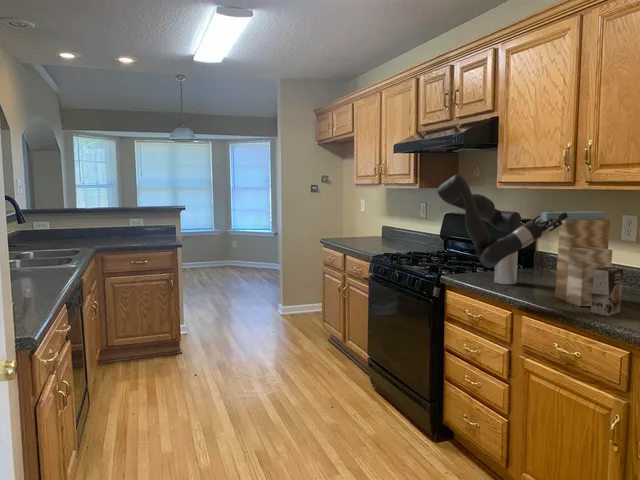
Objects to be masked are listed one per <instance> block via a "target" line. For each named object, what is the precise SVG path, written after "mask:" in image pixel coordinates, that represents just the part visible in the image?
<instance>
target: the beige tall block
mask: <svg viewBox="0 0 640 480" xmlns="http://www.w3.org/2000/svg"><path fill="white" fill-rule="evenodd" d="M612 260H613V249H609V248H608V249H605V248H599V247H580V248H570V249H569V265H568V280H567V295H566V301H565V302H566V303H568V302H569V303H568V304H571V303H572V304H571V305H573V304H575V305H574V306H576V305H578V306H577V307H579V306H591V304H592V291H593V279H594V269H598V268H603V267H609V268H612Z"/></svg>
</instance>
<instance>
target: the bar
mask: <svg viewBox="0 0 640 480" xmlns="http://www.w3.org/2000/svg"><path fill="white" fill-rule="evenodd" d="M564 212H566V213H567V215H568V217H567V218H566V219H564V220H606V216H607V212H606V211H553V212H550V211H542V212H541V216H542V219H541V220H546V219H549V218H552V219H553V218H555V217H557V216H559V215H561V214H562V213H564Z"/></svg>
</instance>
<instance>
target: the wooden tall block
mask: <svg viewBox="0 0 640 480" xmlns="http://www.w3.org/2000/svg"><path fill="white" fill-rule="evenodd" d="M562 223H563V224H562V225H560V226H559V228H558V229H559V231H558V248H557V262H556V275H555V276H556V277H555V278H556V279H555V291H554V298H557V299H559V298H560V299H559V300H562V299H563V301H565V300H566V295H567V280H568V265H569V249H570V248H580V247H599V248H605V249H609V238H610V226H611V220H610V219H605V220H562Z"/></svg>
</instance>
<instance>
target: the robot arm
mask: <svg viewBox="0 0 640 480" xmlns="http://www.w3.org/2000/svg"><path fill="white" fill-rule="evenodd" d="M437 195H438V196H439V197H440V199H441V200H442V201H444V203H446V204H448V205H450V206H454V207H456V208H459V209H462V210H464V212H465V213H464V214H465V215H464V225H465V230H466V232H467V234H468V236H469V238H470V240H471V242H472V244H473V245H474V248H475V249H474V250H475V252H476V255H477V257H478V259H479V262H480V263H481V265H483V266H484V267H485V268H490V269H492V268H494V279H493V283H494V284H500V285H516V284H517V277H518V276H517V274H518V272H517V269H518V255H519V251H520V250H521V249H524V248H526V247H528V246H530V244H532V243H534V242H535V241H537V240H539V239H540V238H541V237H542V236H543V232H545V231H547V230H548V231H549V232H553V231H554V230H556V229H557V228H558V227H559V228H560V225H562V224H563V223H562V220H564V219H566V218H567V217H568V215H567V213H566V212H567V211H563V212H564V213H562V214H561V215H559V216H557V217H555V218H553V219H552V218H549V219H546V220H541V219H542V215H541V216H540V215H537V216H535V217H534V218H532V219H531V220H529V221H527V222H525V223H524V224H522V215H521V214H520V212H518V211H510V210H509V211H508V210H500V209H497V208H496V205H495V203H494V202H493V201H492V200H491V199H490V198H488V197H486V196H484V195H483V194H478V193H472V190H471V189H470V185H469V183H468V182H467V181H466V179H465V177H463V176H462V175H460V174H454V175H453V176H451V177H450V178H448V179H447V180H446V181H444V182H443V183H441V184H440V185H439V186H438V188H437ZM549 212H554V211H553V210H550V211H549ZM483 221H484V222H487V223H488V224H489V225H491V226H492V227H493V228H495V229H496V230H498V231H499V232H500V231H501V232H507V233H506V236H504V237H501V238H498V239H497V240H496V241H495V242H493V243H491V235H490V232H489V231H488V229H487V227H486V225H485V223H484V222H483Z"/></svg>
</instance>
